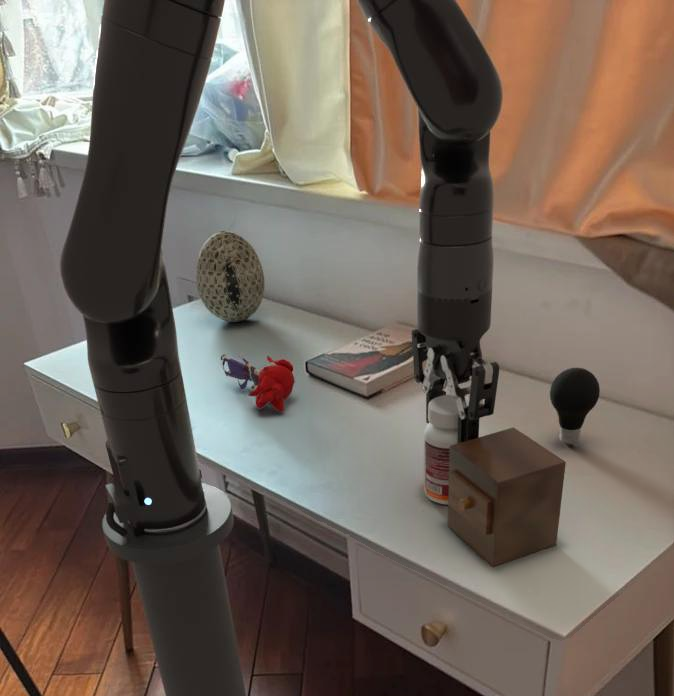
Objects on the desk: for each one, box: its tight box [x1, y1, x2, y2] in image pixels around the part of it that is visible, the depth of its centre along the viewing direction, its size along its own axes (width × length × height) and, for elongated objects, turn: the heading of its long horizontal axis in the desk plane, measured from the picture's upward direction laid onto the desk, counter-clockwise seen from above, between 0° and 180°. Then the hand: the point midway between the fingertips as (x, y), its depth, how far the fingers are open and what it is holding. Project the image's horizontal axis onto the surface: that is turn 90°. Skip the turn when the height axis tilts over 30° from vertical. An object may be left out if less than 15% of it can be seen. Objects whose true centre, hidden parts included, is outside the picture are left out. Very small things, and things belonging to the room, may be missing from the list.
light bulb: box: [549, 367, 601, 446], centre depth 105 cm, size 6×6×10 cm
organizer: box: [447, 427, 567, 567], centre depth 89 cm, size 9×9×10 cm
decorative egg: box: [195, 230, 266, 323], centre depth 148 cm, size 12×12×15 cm
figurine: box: [220, 353, 296, 413], centre depth 123 cm, size 6×8×15 cm
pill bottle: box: [423, 394, 480, 506], centre depth 97 cm, size 6×6×11 cm
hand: (451, 434), depth 96 cm, fingers closed on pill bottle, 6 cm apart
